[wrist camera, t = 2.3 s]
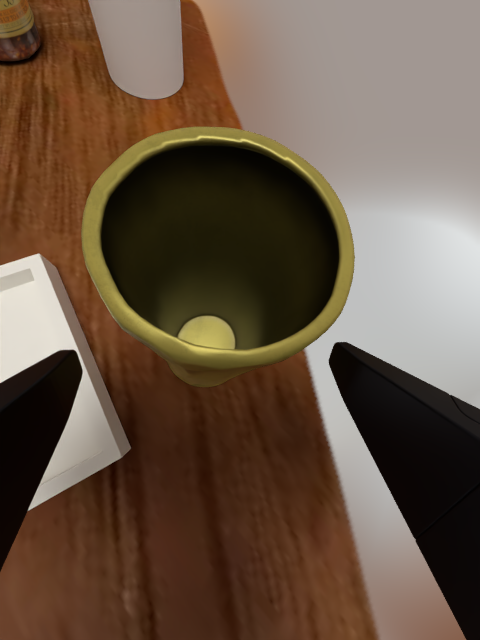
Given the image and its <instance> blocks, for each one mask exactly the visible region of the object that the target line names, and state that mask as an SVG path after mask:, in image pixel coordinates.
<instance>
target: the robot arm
mask: <svg viewBox="0 0 480 640" xmlns="http://www.w3.org/2000/svg"><path fill="white" fill-rule="evenodd" d="M329 365H330V368H331V371H332V373H333V376H334V378H335V381H336V383H337V386H338V388H339V391H340V394H341V396H342V398H343V400H344V403H345V404H346V407H347V409H348V411H349V412H350V414H351V416H352V418H353V420H354V422H355V424H356V426H357V428H358V430H359V432H360V434H361V436H362V438H363V439H364V442H365V443H366V445H367V447H368V449H369V451H370V453H371V455H372V457H373V459H374V461H375V463H376V465H377V467H378V469H379V471H380V473H381V474H382V476H383V478H384V480H385V482H386V484H387V486H388V488H389V490H390V491H391V494H392V496H393V498H394V500H395V502H396V504H397V505H398V508H399V509H400V511H401V513H402V515H403V517H404V519H405V521H406V523H407V525H408V527H409V529H410V531H411V533H412V535H413V537H414V538H415V539H416V543H417V545H418V547H419V549H420V550H421V553H422V554H423V556H424V558H425V560H426V562H427V564H428V566H429V568H430V570H431V572H432V574H433V576H434V578H435V580H436V582H437V584H438V586H439V587H440V589H441V591H442V593H443V595H444V597H445V599H446V601H447V603H448V605H449V607H450V609H451V611H452V613H453V615H454V617H455V619H456V620H457V622H458V624H459V626H460V628H461V630H462V632H463V634H464V636H465V638H466V640H480V409H478V408H476V407H474V406H472V405H470V404H468V403H466V402H464V401H462V400H460V399H458V398H456V397H454V396H452V395H449V394H448V393H446V392H444V391H442V390H440V389H438V388H436V387H434V386H432V385H430V384H428V383H426V382H424V381H422V380H421V379H419V378H417V377H415V376H413V375H411V374H409V373H407V372H405V371H402V370H401V369H399V368H397V367H395V366H392V365H391V364H389V363H387V362H385V361H383V360H381V359H379V358H377V357H375V356H373V355H371V354H369V353H367V352H365V351H363V350H361V349H359V348H357V347H355V346H353V345H351V344H349V343H347V342H337V343H335V344H334V346H333V349H332V352H331V355H330V358H329ZM82 375H83V369H82V366H81V363H80V360H79V357H78V354H77V352H76V351H75V350H59V351H57V352H55V353H53V354H52V355H50V356H48V357H46V358H44V359H43V360H41V361H39V362H37V363H35V364H34V365H32V366H30V367H28V368H26V369H24V370H23V371H21V372H19V373H17V374H15V375H14V376H12V377H10V378H8V379H6V380H5V381H3V382H1V383H0V571H1V569H2V567H3V564H4V562H5V560H6V558H7V555H8V553H9V551H10V549H11V547H12V544H13V542H14V540H15V538H16V535H17V533H18V531H19V529H20V527H21V524H22V522H23V520H24V518H25V515H26V513H27V511H28V509H29V507H30V504H31V502H32V500H33V498H34V495H35V493H36V491H37V489H38V487H39V484H40V482H41V480H42V478H43V475H44V473H45V471H46V469H47V467H48V464H49V462H50V460H51V458H52V455H53V453H54V451H55V449H56V447H57V444H58V442H59V440H60V438H61V435H62V433H63V431H64V429H65V426H66V424H67V422H68V419H69V416H70V413H71V410H72V407H73V404H74V401H75V398H76V395H77V391H78V388H79V385H80V382H81V379H82Z"/></svg>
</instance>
